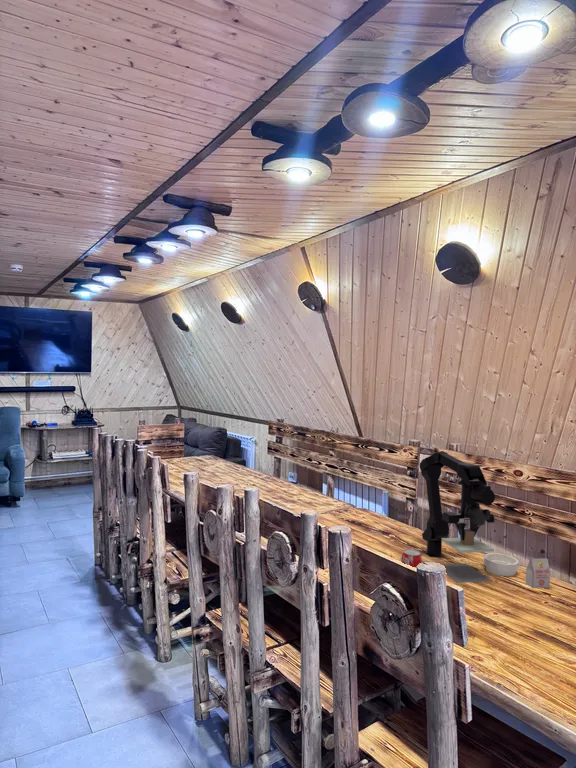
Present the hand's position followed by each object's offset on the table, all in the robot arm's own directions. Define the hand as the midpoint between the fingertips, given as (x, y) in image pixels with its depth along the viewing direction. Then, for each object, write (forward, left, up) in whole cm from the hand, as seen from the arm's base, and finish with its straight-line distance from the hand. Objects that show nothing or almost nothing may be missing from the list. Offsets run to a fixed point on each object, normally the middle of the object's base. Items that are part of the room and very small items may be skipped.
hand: (467, 540), depth 191 cm
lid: (0, 0, -2) cm, 2 cm away
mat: (0, -2, -13) cm, 13 cm away
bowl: (0, +15, -13) cm, 19 cm away
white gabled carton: (+14, +20, -13) cm, 27 cm away
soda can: (+8, -26, -13) cm, 30 cm away
